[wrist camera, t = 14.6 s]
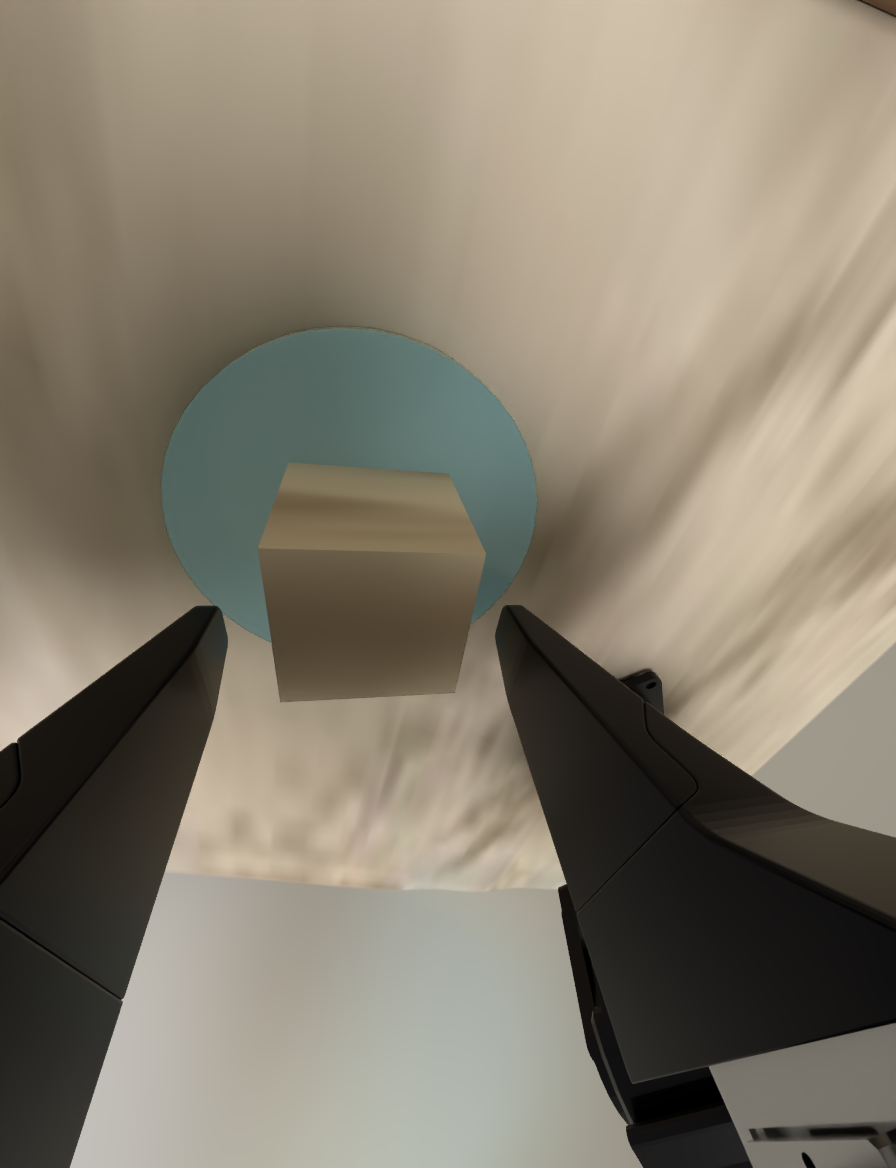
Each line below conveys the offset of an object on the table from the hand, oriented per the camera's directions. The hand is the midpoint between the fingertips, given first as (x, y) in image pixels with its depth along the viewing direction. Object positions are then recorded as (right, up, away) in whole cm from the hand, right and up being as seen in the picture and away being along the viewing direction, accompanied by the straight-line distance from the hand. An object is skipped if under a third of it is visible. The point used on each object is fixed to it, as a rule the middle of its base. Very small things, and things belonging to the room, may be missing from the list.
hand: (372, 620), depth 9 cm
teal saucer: (-1, +3, +3) cm, 4 cm away
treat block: (-1, +2, +3) cm, 4 cm away
